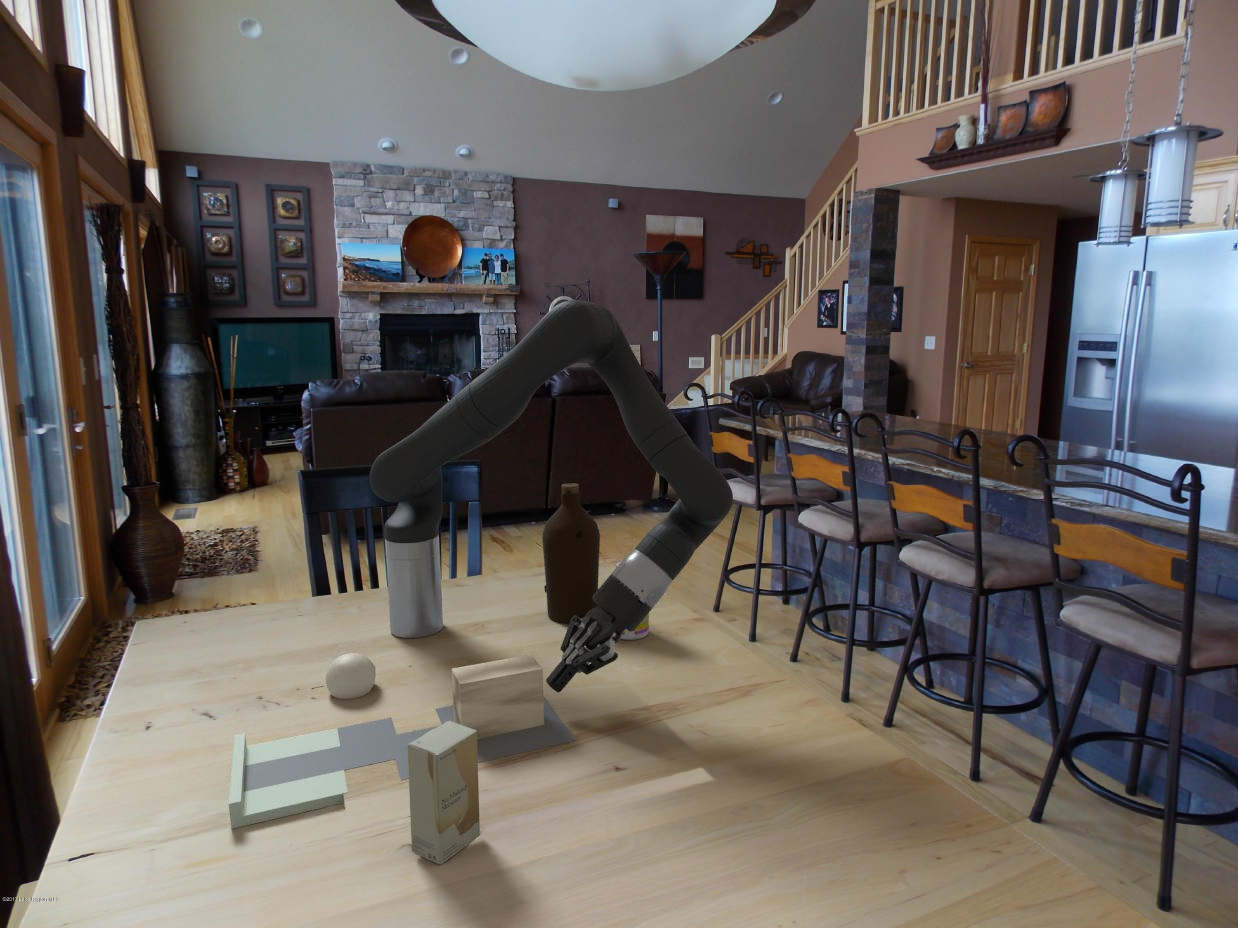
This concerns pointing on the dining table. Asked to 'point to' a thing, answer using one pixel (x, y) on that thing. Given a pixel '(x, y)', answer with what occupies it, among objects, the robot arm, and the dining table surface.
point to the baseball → (350, 676)
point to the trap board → (346, 762)
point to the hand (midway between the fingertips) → (551, 687)
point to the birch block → (499, 695)
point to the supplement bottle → (639, 631)
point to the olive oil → (570, 558)
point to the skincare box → (443, 791)
